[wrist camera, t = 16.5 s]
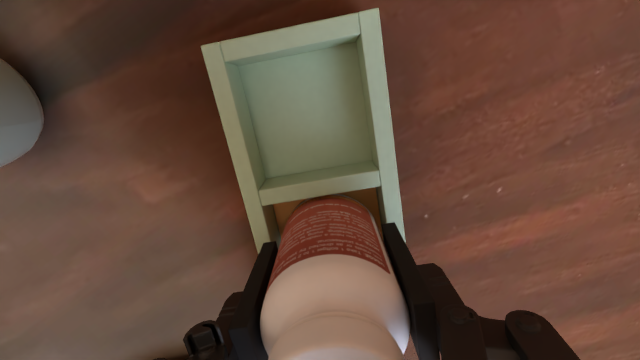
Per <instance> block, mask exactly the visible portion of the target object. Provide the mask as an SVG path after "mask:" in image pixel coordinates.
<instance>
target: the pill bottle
mask: <svg viewBox="0 0 640 360" xmlns="http://www.w3.org/2000/svg"><path fill="white" fill-rule="evenodd" d="M260 332H261V338H262V342H263V345H264V348H265V350H266V352H267V354H268V356H269V358H268V360H405V359H404V356H403V354H404V352H405V350H406V347H407V344H408V340H409V336H410V315H409V310H408V307H407V303H406V300H405V297H404V294H403V291H402V289H401V286H400V284H399V281H398V279H397V276H396V273H395V271H394V268H393V265H392V263H391V260H390V257H389V254H388V252H387V249H386V247H385V244H384V241H383V239H382V236H381V233H380V231H379V228H378V226H377V223H376V221H375V219H374V217H373V216H372V214H371V213H370V212H369V210H368V209H367V208H366V207H365V206H364V205H363V204H361V203H360V202H358V201H357V200H355V199H353V198H350V197H348V196H345V195H341V194H331V195H325V196H319V197H313V198H309V199H307V200H305V201H304V202H302V203H301V204H299V205H298V206H297V207H296V208H295V209H294V211H293V212H292V213H291V215H290V216H289V218H288V220H287V222H286V225H285V228H284V231H283V235H282V239H281V242H280V246H279V249H278V253H277V256H276V260H275V263H274V267H273V270H272V274H271V277H270V280H269V284H268V287H267V291H266V294H265V298H264V301H263V306H262V310H261V316H260Z"/></svg>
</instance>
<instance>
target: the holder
mask: <svg viewBox="0 0 640 360" xmlns="http://www.w3.org/2000/svg"><path fill="white" fill-rule="evenodd" d="M201 50H202V53H203V57H204V61H205V64H206V68H207V71H208V75H209V79H210V82H211V86H212V89H213V93H214V97H215V100H216V104H217V107H218V111H219V115H220V118H221V122H222V125H223V129H224V133H225V136H226V140H227V143H228V147H229V151H230V154H231V158H232V161H233V165H234V169H235V172H236V176H237V179H238V183H239V187H240V190H241V194H242V197H243V201H244V205H245V208H246V212H247V215H248V219H249V223H250V226H251V230H252V233H253V237H254V241H255V244H256V248H257V251H258V255H259V252H260V250H261V248H262V245H263V243H266V242H272V241H276V243H277V247H278V249H279V246H280V242H281V239H282V235H283V231H284V228H285V225H286V222H287V220H288V218H289V216H290V215H291V213H292V212H293V211H294V209H295V208H296V207H297V206H298V205H299V204H301V203H302V202H304V201H305V200H307V199H309V198H313V197H319V196H325V195H331V194H341V195H345V196H348V197H350V198H353V199H355V200H357V201H358V202H360V203H361V204H363V205H364V206H365V207H366V208H367V209H368V210H369V212H370V213H371V214H372V216H373V217H374V219H375V221H376V223H377V226H378V228H379V231H380V233H381V236H382V239H383V232H382V225H381V224H386V223H393V222H395V224H396V226H397V228H398V230H399V232H400V234H401V236H402V238H403V240H404V242H405V233H404V224H403V216H402V207H401V198H400V190H399V181H398V172H397V163H396V155H395V146H394V137H393V129H392V120H391V111H390V103H389V94H388V85H387V77H386V68H385V59H384V51H383V42H382V33H381V25H380V16H379V8H374V9H369V10H365V11H360V12H358V13H351V14H347V15H342V16H337V17H333V18H328V19H323V20H319V21H314V22H309V23H304V24H300V25H295V26H290V27H286V28H281V29H276V30H272V31H267V32H262V33H257V34H253V35H248V36H243V37H239V38H234V39H229V40H225V41H221V42H215V43H210V44H206V45H202V46H201ZM383 241H384V240H383ZM405 244H406V242H405Z"/></svg>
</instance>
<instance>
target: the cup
mask: <svg viewBox="0 0 640 360" xmlns="http://www.w3.org/2000/svg"><path fill="white" fill-rule="evenodd" d="M43 126H44V113H43V108H42V105H41V102H40V100H39V98H38V96H37V94H36V93H35V91H34V89H33V88H32V87H31V86H30V84H29V83H28V82H27V81H26V79H25V78H24V77H23V76H22V75H21V74H20V73H19V72H18V71H17V70H16V69H14V68H13V67H12V66H11V65H9V64H8V63H7V62H5V61H4V60H2V59H0V168H2V167H4V166H6V165H8V164H11V163H12V162H14V161H15V160H17V159H18V158H20V157H22V156H23V155H25V154H26V153H27V152H28V151H29V150H30V149H31V148H32V147H33V146H34V145H35V144H36V142H37V141H38V139H39V138H40V136H41V133H42V130H43Z"/></svg>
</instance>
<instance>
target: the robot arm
mask: <svg viewBox="0 0 640 360" xmlns="http://www.w3.org/2000/svg"><path fill="white" fill-rule="evenodd" d="M381 225H382V232H383V240H384V244H385V247H386V249H387V252H388V254H389V257H390V260H391V263H392V265H393V268H394V271H395V273H396V276H397V279H398V281H399V284H400V286H401V289H402V291H403V294H404V297H405V300H406V303H407V307H408V310H409V315H410V334H411V337H412V340H413V343H414V346H415V349H416V352H417V355H418V358H419V360H440V354H439V351H440V353H441V357H442V360H580V359H579V357H578V356H577V355H576V354H575V353H574V351H573V350H572V349H571V348H570V347H569V345H568V344H567V343H566V342H565V341H564V340H563V338H562V337H561V336H560V335H559V334H558V332H557V331H556V330H555V329H554V328H553V326H552V325H551V324H550V323H549V322H548V321H547V320H546V319H545V318H543V317H542V316H540V315H538V314H536V313H533V312H529V311H524V310H516V311H512V312H510V313H508V314H507V315H506V318H505V321H504V320H495V319H488V318H484V317H481V316H478V315H477V313H476V312H475V311H474V310H473V309H471V308H469V307H467V306H465V305H464V303H463V301H462V300H461V298H460V297H459V295H458V294H457V292H456V290H455V289H454V287H453V286H452V284H451V283H450V281H449V279H448V278H447V277H446V275H445V273H444V272H443V270H442V269H441V268H440V267H438V266H437V265H435V264H434V263H430V264H423V265H416V263H415V261H414V259H413V257H412V255H411V253H410V251H409V250H408V248H407V246H406V244H405V242H404V240H403V238H402V236H401V234H400V232H399V230H398V228H397V226H396V224H395V222H393V223H386V224H381ZM277 253H278V247H277V243H276V241H272V242H266V243H263V245H262V248H261V250H260V252H259V255H258V257H257V260H256V262H255V264H254V267H253V269H252V272H251V274H250V277H249V279H248V281H247V284H246V286H245V289H244V291H243V292H236V293H233V294H232V295H231V296H230V297H229V298H228V299H227V300H226V301H225V303H224V305H223V307H222V310H221V312H220V314H219V317H218V318H217V320H216V322H215V321H212V320H208V321H203V322H201V323H199V324H197V325H195V326H194V327H192V328H191V329H190V330H189V331H188V332H187V333H186V334H185V337H184V339H183V341H184V343H185V346H186V348H187V351H188V353H189V356H190V357H189V358H187V359H185V360H268V358H269V356H268V354H267V352H266V350H265V348H264V345H263V342H262V338H261V332H260V316H261V310H262V306H263V301H264V298H265V294H266V291H267V287H268V284H269V280H270V277H271V274H272V270H273V267H274V263H275V260H276V256H277ZM154 360H166V359H165V358H157V359H154Z"/></svg>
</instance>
